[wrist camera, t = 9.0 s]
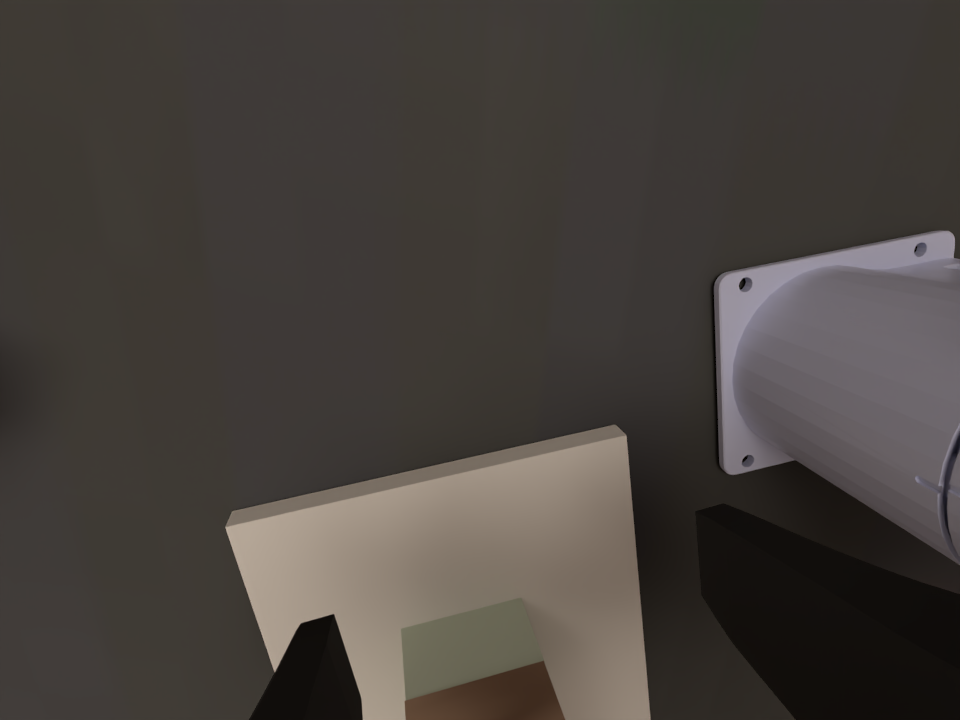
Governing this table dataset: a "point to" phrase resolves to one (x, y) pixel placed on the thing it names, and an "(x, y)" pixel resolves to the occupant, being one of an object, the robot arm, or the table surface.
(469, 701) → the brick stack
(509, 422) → the table surface
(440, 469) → the board
